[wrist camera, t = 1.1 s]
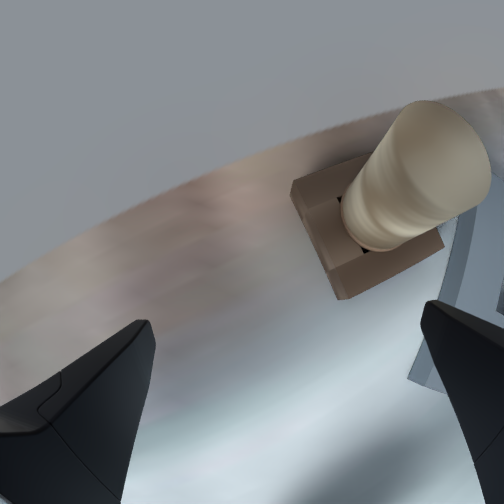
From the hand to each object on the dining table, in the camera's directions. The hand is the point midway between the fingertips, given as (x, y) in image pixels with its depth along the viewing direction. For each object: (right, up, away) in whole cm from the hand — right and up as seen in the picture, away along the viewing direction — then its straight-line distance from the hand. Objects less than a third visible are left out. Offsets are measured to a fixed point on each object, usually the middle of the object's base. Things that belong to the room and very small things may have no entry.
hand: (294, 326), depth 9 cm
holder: (+8, +4, +14) cm, 17 cm away
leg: (+8, +4, +15) cm, 17 cm away
